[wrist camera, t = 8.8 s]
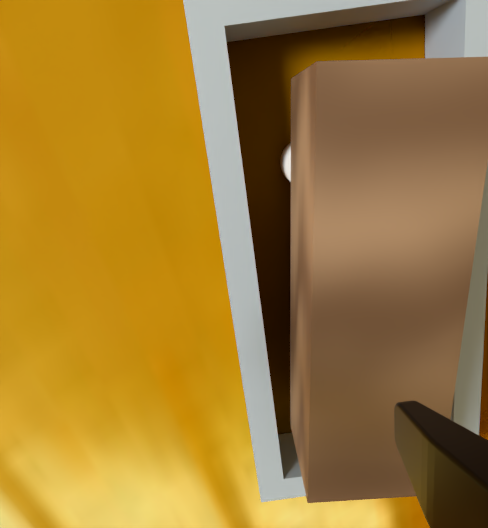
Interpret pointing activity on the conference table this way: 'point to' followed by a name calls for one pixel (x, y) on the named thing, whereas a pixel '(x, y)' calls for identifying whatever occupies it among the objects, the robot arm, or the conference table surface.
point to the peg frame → (234, 192)
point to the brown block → (379, 257)
